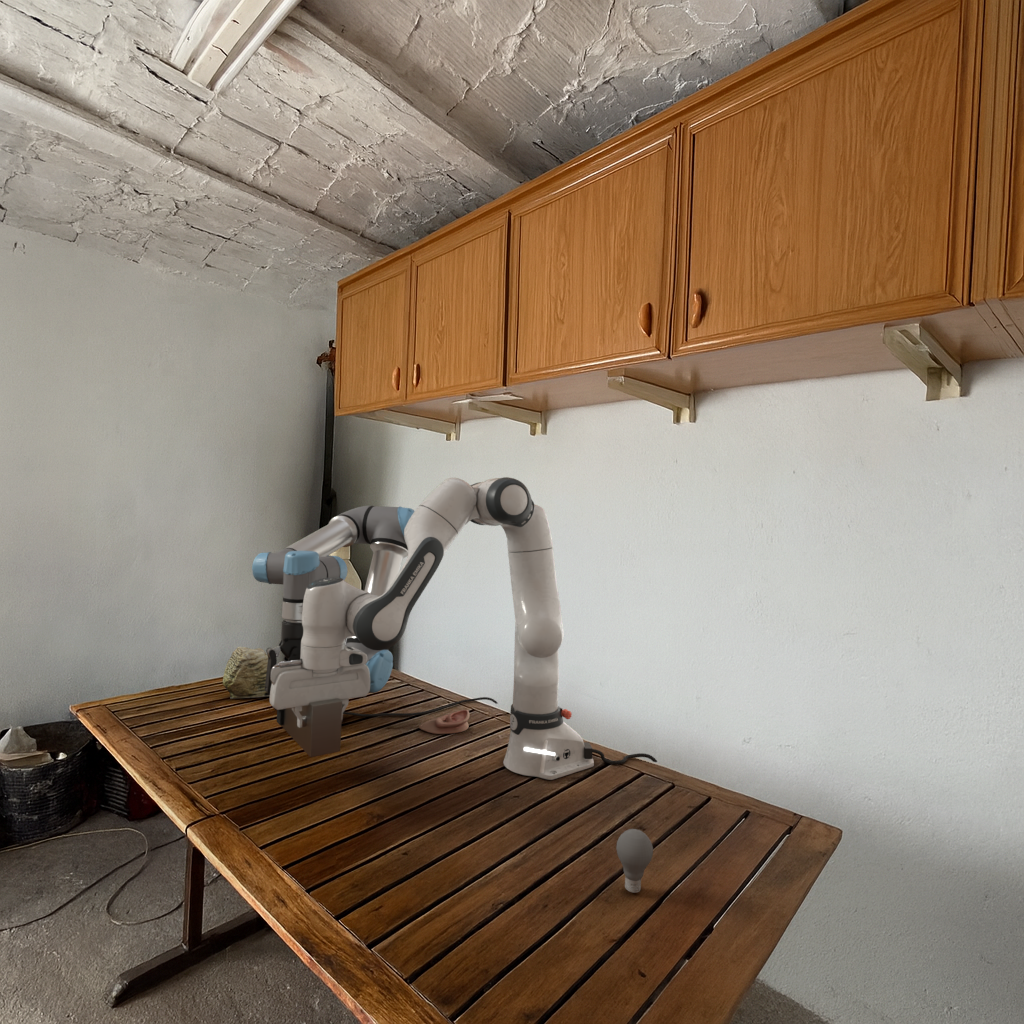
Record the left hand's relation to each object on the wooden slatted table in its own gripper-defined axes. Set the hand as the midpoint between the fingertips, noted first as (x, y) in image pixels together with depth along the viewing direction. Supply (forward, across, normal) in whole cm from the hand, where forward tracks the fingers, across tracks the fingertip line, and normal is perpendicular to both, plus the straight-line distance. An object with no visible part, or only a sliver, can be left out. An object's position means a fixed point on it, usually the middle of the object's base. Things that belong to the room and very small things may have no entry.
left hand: (295, 720), depth 144 cm
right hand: (-4, 0, -16) cm, 16 cm away
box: (+1, 0, -8) cm, 8 cm away
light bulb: (+12, +34, -72) cm, 81 cm away
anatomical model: (+12, +44, +8) cm, 47 cm away
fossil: (+12, +7, +62) cm, 63 cm away
